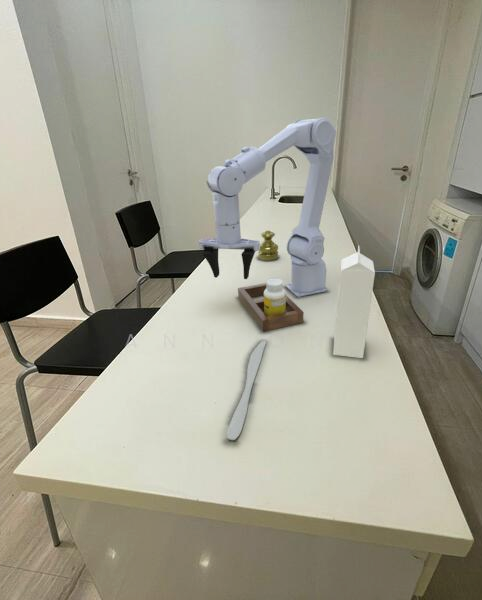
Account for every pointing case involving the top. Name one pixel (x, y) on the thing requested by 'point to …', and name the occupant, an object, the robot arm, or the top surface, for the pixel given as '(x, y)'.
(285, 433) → the top surface
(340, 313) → the milk
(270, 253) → the brass tiered ornament
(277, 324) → the divided wooden frame
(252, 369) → the butter knife
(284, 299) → the supplement bottle
